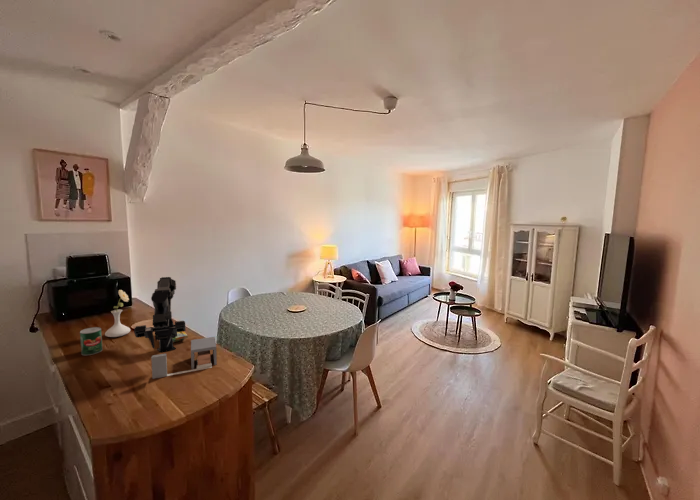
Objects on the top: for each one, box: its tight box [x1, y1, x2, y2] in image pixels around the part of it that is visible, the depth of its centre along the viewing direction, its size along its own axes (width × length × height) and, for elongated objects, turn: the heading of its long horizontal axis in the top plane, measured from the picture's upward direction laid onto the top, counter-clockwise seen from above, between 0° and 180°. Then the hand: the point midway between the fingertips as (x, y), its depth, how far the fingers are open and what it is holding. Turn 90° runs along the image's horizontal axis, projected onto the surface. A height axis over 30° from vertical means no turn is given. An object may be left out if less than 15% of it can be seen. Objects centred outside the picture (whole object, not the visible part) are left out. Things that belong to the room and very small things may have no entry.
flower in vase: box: [104, 289, 131, 338], centre depth 166 cm, size 13×11×25 cm
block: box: [197, 350, 211, 365], centre depth 135 cm, size 5×5×5 cm
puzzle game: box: [173, 331, 189, 343], centre depth 163 cm, size 12×5×20 cm
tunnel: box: [190, 336, 218, 370], centre depth 137 cm, size 12×10×10 cm
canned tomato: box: [79, 326, 103, 356], centre depth 145 cm, size 8×8×11 cm
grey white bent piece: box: [151, 353, 213, 380], centre depth 130 cm, size 9×22×10 cm, turn 117°
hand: (160, 347), depth 127 cm, fingers open, 5 cm apart
